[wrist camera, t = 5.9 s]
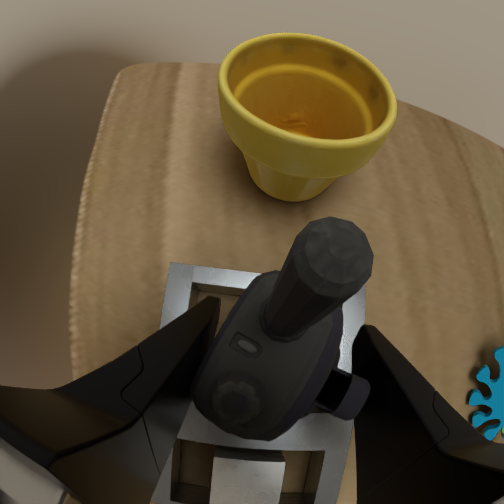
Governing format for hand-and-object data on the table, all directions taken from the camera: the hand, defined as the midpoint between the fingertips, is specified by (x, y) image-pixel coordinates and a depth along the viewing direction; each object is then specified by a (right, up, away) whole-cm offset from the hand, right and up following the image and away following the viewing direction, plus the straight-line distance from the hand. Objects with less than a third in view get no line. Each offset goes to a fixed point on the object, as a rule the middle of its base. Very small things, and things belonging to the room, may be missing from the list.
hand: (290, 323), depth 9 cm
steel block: (-2, -12, +7) cm, 14 cm away
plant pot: (+2, +9, +14) cm, 17 cm away
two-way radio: (0, -4, +7) cm, 8 cm away
